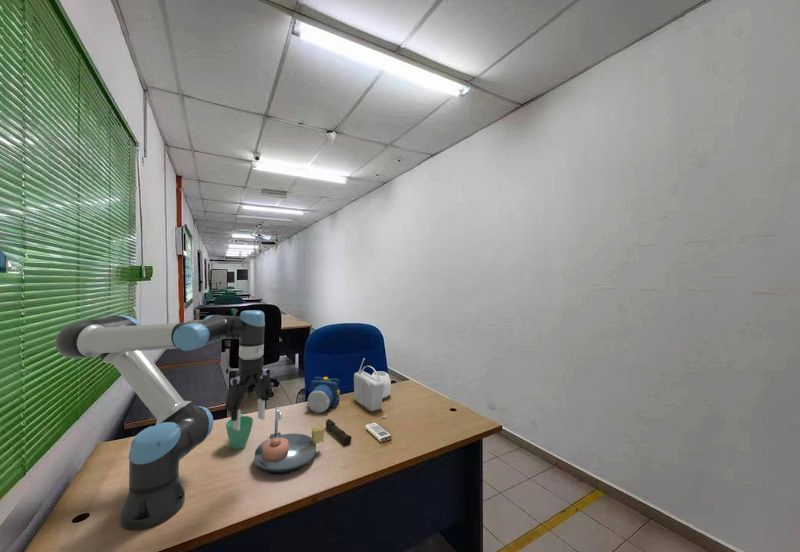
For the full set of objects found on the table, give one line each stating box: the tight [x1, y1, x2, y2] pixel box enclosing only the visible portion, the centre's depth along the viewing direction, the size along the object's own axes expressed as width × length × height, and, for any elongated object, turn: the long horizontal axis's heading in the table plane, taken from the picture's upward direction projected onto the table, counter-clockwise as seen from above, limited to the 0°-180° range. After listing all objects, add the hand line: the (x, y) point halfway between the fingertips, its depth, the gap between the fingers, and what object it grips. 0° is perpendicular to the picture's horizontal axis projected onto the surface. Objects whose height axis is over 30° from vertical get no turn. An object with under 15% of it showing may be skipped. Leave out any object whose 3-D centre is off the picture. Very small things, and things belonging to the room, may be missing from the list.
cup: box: [371, 370, 392, 400], centre depth 184 cm, size 13×13×14 cm
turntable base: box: [262, 463, 308, 476], centre depth 120 cm, size 18×18×2 cm
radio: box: [353, 357, 384, 412], centre depth 171 cm, size 22×8×25 cm, turn 37°
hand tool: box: [325, 419, 352, 447], centre depth 139 cm, size 19×4×5 cm, turn 38°
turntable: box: [254, 425, 325, 472], centre depth 121 cm, size 24×22×7 cm
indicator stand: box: [269, 406, 283, 439], centre depth 132 cm, size 10×4×14 cm, turn 33°
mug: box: [225, 413, 254, 450], centre depth 130 cm, size 15×10×10 cm
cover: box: [262, 437, 289, 462], centre depth 115 cm, size 9×9×6 cm
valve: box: [307, 376, 341, 414], centre depth 165 cm, size 13×15×15 cm
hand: (249, 423), depth 106 cm, fingers open, 8 cm apart
